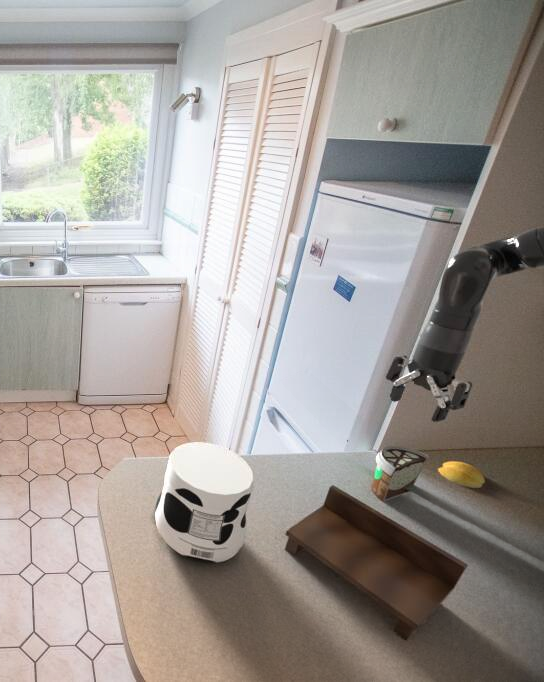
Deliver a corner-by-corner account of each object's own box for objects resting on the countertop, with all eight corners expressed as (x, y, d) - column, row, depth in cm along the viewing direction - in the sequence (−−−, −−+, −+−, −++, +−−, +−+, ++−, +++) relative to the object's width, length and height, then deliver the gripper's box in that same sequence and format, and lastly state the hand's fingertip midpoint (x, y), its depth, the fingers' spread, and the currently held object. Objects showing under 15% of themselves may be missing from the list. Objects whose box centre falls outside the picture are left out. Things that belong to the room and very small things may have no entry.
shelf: (445, 604, 80) (468, 564, 76) (408, 645, 73) (430, 605, 69) (319, 520, 97) (332, 484, 93) (280, 548, 90) (292, 511, 86)
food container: (387, 472, 111) (401, 439, 107) (414, 489, 106) (430, 455, 101) (352, 485, 107) (365, 451, 103) (378, 503, 102) (393, 468, 97)
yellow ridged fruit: (430, 478, 109) (436, 465, 107) (444, 465, 113) (450, 452, 112) (474, 499, 103) (481, 486, 101) (487, 484, 107) (494, 471, 105)
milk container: (199, 495, 104) (213, 430, 96) (260, 554, 89) (282, 483, 82) (136, 517, 98) (145, 450, 90) (190, 584, 83) (206, 511, 76)
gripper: (495, 355, 88) (462, 424, 95) (418, 328, 100) (393, 391, 107) (470, 361, 86) (438, 431, 93) (394, 333, 98) (371, 397, 105)
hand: (414, 410), depth 100 cm, fingers open, 8 cm apart
